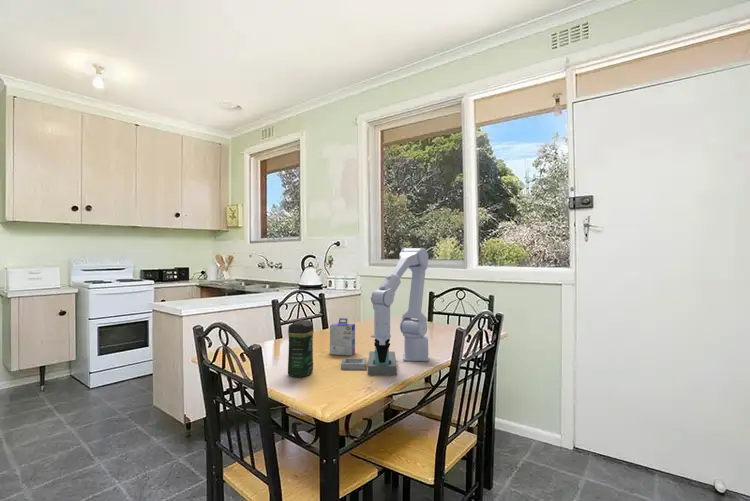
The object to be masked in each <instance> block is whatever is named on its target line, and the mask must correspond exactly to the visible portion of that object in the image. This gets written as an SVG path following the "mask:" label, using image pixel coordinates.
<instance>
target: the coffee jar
mask: <svg viewBox="0 0 750 501" xmlns="http://www.w3.org/2000/svg"><path fill="white" fill-rule="evenodd" d="M287 329H288V330H287V332H288V333H287V335H288V355H287V356H288V359H287V360H288V361H287V374H288V376H290V377H293V378H300V377H307V376H309V375H310V374H311V373H312V372H313V371H314V355H313V354H314V353H313V352H314V351H313V350H314V349H313V348H314V347H313V346H314V344H313V343H314V340H313V339H314V323H313V322H312V321H311V320H309V319H299V320H298V321H295V322H293V323H291V324H289V325H288V328H287Z"/></svg>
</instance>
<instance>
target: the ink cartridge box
mask: <svg viewBox="0 0 750 501" xmlns="http://www.w3.org/2000/svg"><path fill="white" fill-rule="evenodd" d="M354 354H356V324H355V323H348V318H347V317H346V318H344V317H342V318H341V317H339V319H338V322H337V323H332V324H330V325H329V355H335V356H336V355H338V356H341V355H342V356H353V355H354Z"/></svg>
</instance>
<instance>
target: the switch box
mask: <svg viewBox="0 0 750 501" xmlns="http://www.w3.org/2000/svg"><path fill="white" fill-rule="evenodd" d="M396 358H397V357H396V351H389V364H375V350H374V351H373V350H372V351H369V352H368V361H367V375H368V376H397V373H398V372H397V368H398V366H397V359H396Z"/></svg>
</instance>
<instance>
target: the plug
mask: <svg viewBox="0 0 750 501" xmlns="http://www.w3.org/2000/svg"><path fill="white" fill-rule="evenodd" d="M374 351H375V364H389V352H390V347H389V348H388V351H387V356H386V361H385V363H379V359H378V353H377V349H376V347H374Z"/></svg>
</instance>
